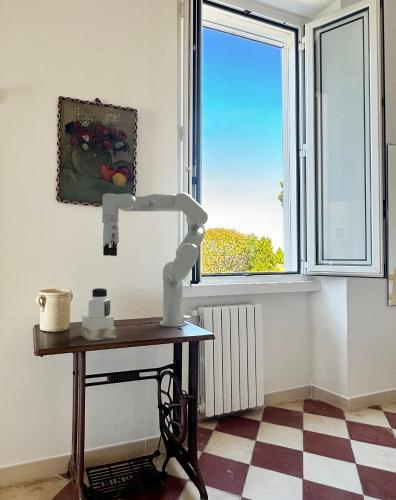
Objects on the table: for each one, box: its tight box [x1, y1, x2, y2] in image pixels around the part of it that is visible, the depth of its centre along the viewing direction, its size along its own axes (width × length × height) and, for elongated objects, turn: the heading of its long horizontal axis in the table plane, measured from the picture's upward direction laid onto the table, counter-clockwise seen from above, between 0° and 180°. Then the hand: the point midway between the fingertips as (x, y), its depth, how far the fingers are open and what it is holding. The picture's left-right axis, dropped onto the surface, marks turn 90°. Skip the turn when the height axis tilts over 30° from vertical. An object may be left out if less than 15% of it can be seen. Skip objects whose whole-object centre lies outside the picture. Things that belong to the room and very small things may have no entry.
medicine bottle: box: [88, 287, 111, 318], centre depth 164 cm, size 7×7×12 cm
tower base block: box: [80, 325, 118, 342], centre depth 165 cm, size 12×12×4 cm
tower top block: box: [81, 314, 115, 330], centre depth 165 cm, size 10×10×4 cm
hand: (109, 255), depth 183 cm, fingers open, 9 cm apart
